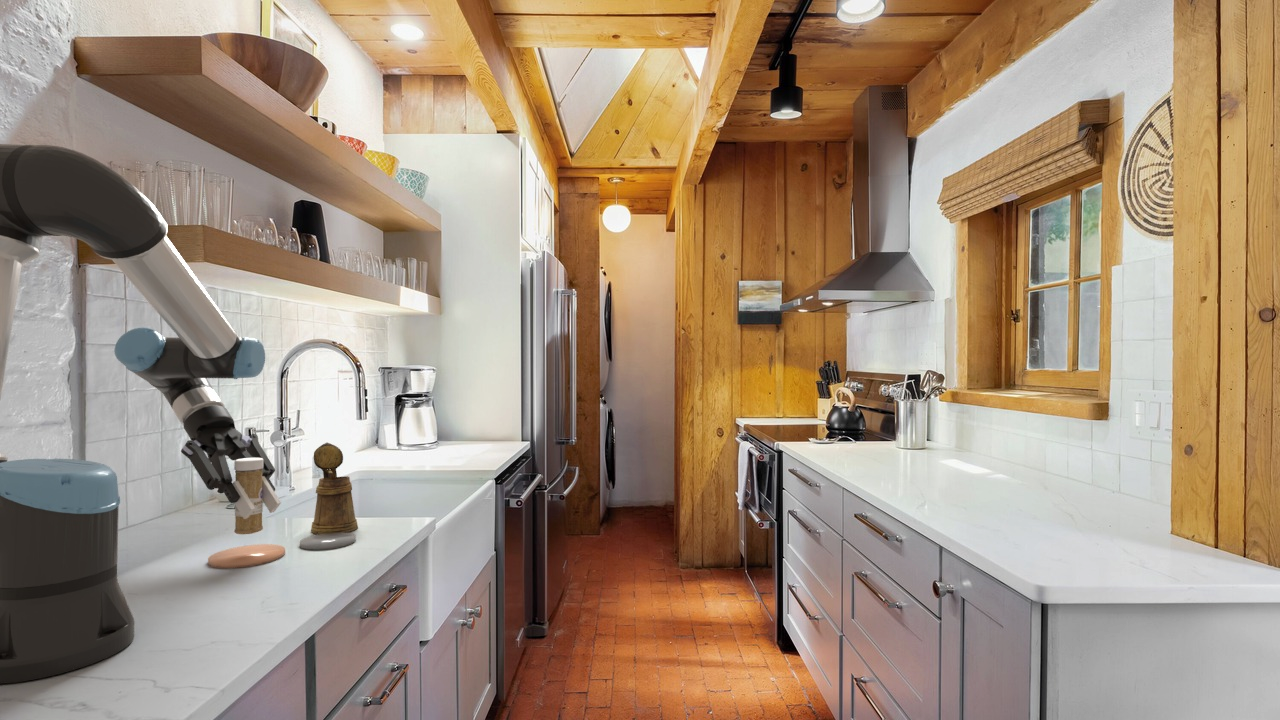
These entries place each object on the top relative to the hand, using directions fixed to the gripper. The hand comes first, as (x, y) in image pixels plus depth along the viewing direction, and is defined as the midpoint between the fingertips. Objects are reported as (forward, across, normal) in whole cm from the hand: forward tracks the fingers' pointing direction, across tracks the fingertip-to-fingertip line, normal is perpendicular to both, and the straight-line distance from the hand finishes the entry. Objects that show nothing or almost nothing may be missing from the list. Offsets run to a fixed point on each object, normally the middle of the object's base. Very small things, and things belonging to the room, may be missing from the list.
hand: (262, 510), depth 115 cm
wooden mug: (+1, -22, -12) cm, 25 cm away
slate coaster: (+8, -13, -5) cm, 16 cm away
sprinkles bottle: (0, 0, -6) cm, 6 cm away
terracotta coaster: (+4, 0, -9) cm, 10 cm away
